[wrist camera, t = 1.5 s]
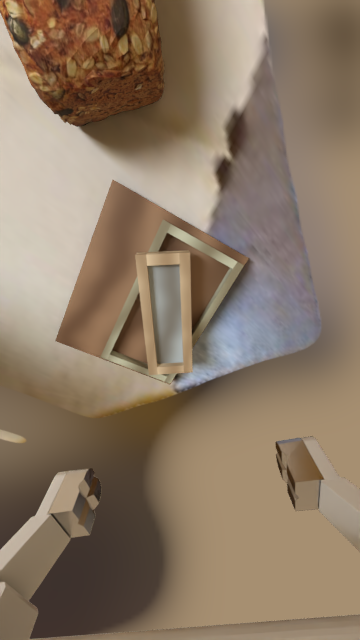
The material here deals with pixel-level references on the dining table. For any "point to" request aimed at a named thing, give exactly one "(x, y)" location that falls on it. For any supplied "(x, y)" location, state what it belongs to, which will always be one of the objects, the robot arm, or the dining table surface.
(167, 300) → the frame
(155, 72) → the bread
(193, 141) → the dining table surface
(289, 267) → the dining table surface
